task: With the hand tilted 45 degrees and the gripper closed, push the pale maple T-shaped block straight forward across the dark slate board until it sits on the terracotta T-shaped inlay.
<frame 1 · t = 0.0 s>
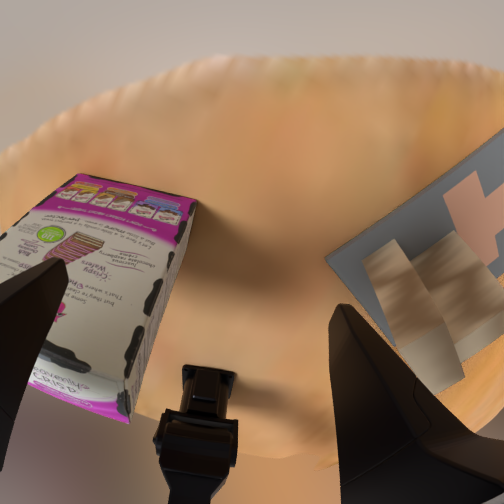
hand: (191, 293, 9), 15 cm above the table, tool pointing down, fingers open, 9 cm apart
slate board: (461, 243, 24), on the table
candy bar box: (132, 209, 24), on the table
maple T block: (422, 268, 25), point 1 cm above the table, touching slate board
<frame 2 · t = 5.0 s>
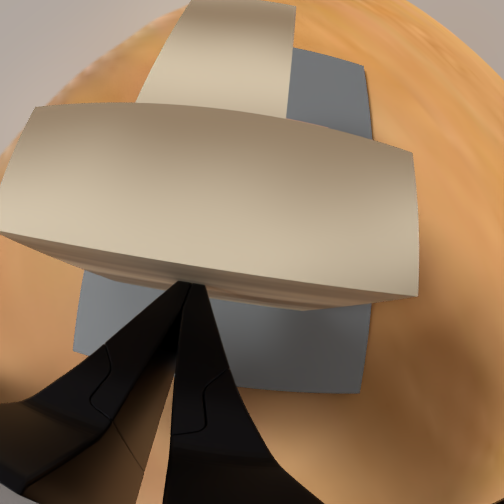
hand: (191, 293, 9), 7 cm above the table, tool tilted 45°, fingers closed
slate board: (245, 170, 17), on the table
maple T block: (219, 213, 16), point 1 cm above the table, touching slate board
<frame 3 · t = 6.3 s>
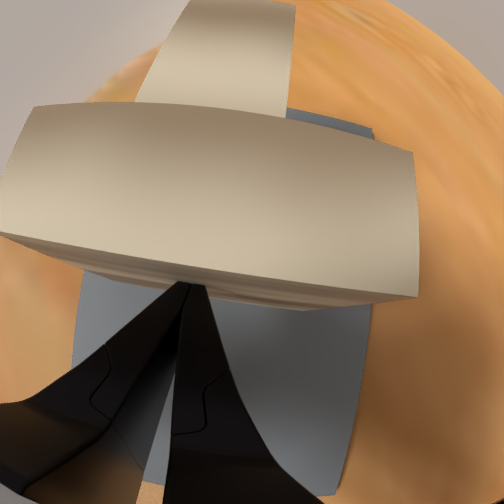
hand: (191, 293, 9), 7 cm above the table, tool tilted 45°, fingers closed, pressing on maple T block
slate board: (226, 290, 16), on the table
maple T block: (219, 213, 16), point 1 cm above the table, touching gripper
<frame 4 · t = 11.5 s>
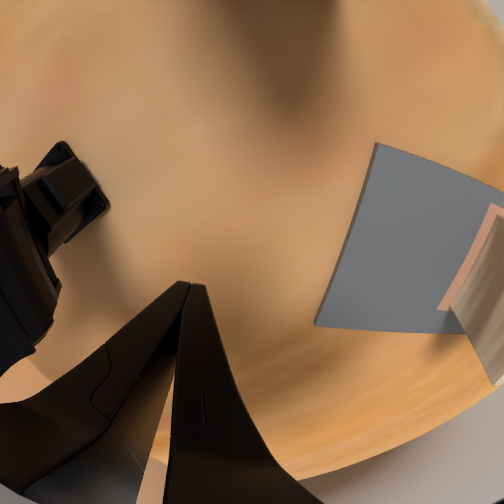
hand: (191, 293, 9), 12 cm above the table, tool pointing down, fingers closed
slate board: (458, 266, 22), on the table
maple T block: (500, 268, 22), point 1 cm above the table, touching slate board
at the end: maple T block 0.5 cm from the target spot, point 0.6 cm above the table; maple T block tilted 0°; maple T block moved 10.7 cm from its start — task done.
